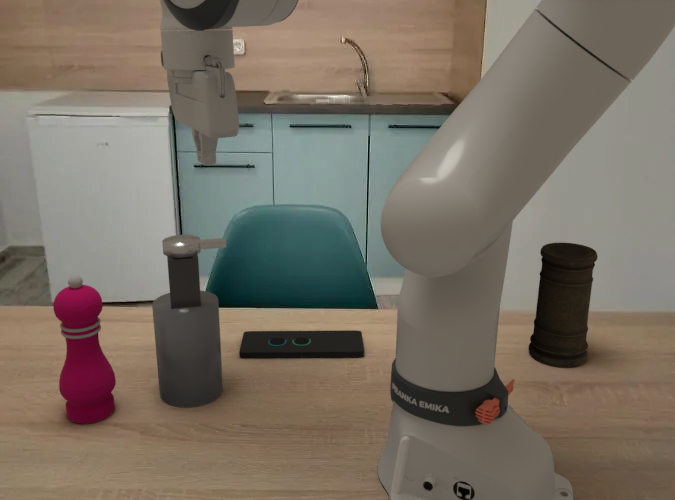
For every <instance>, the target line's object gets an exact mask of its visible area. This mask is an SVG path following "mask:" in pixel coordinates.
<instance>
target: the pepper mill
mask: <svg viewBox="0 0 675 500" xmlns="http://www.w3.org/2000/svg"><path fill="white" fill-rule="evenodd" d="M83 282H84V281H83V278H82V277H81V275H78V274H73V275H70V277H69V278H68V281H67V283H68V286H67V287H64V288H62V289H61V290H60V291H58V293H57V294H56V296H55V297H54V300H53V313H54V315H55V317H56V318H57V319H58V320H59V321H60V324H59V327H60V334H61V336H62V337H64V338H65V342H66V344H65V345H66V356H65V361H64V364H63V365H62V369H61V372H60V376H59V382H58V384H59V385H58V387H59V388H58V390H59V394H60V395H61V396H62V398H63V399H64V400H65V401H66V402H65V411H66V417H67V418H68V419H69V421H71V422H73V423H76V424H92V423H97V422H99V421H103V420H105V419H106V418H108V417H109V416H111V415H112V414H113V413H114V411H115V408H116V403H115V398H114V397H115V396H114V395H113V391H114V389H115V387H116V385H117V380H116V375H115V371H114V369H113V367H112V365H111V363H110V361H109V359H107V357H106V356H105V354H104V352H103V349H102V348H101V344H100V339H99V332H100V331H101V330H102V326H101V319H100V317H99V315H100V314H101V313H102V310H103V306H104V305H103V299H102V296H101V294H100V293H99V291H98V290H97V289H95V287H92V286H91V285H88V284H84V283H83Z"/></svg>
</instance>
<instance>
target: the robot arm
mask: <svg viewBox="0 0 675 500" xmlns="http://www.w3.org/2000/svg"><path fill="white" fill-rule="evenodd" d="M159 2H160V6H161V21H160V38H161V39H160V40H161V51H160V64H161V67H162V68H163V69H164V70H166V80H167V85H168V86H167V87H168V92H169V94H168V95H169V100H170V104H171V109H172V114H173V116H174V119H175V120H176V121H177V122H179V123H181V124H182V125H185V126H187V127H188V128H191V135H192V139H193V142H194V145H195V146H194V147H195V149H196V158H197V161H198V162H199V163H200V164H202V165H204V166H206V167H207V166H215V165H216V164H217V155H216V152H217V148H218V147H217V146H218V143H219V142H218V141H219V139H223V138H234V137H237V136H238V134H239V130H240V118H239V109H238V100H237V93H236V91H237V90H236V85H235V81H234V78H233V75H232V74H231V72H228V71H226V70H229V69H234V68H235V67H236V65H235V49H234V47H235V46H234V34H233V33H234V31H233V27H234V28H237V27H238V28H239V27H240V28H242V27H244V28H246V27H264V26H271V25H273V24H277V23H281V22H283V21H284V20H286V19H287V18H289V16H291V14H292V13H293V12H294V10H295V9H296V7H297V5H298V3H299V0H159ZM674 28H675V0H540V2H539V3H538V4H537V6H536V8H534V9H533V11H532V12H531V13H530V14H529V16H528V17H527V19H525V21H524V23H523V24H522V25H521V26H520V28H519V29H518V30H517V32H516V33H515V35H513V37H512V38H511V39H510V41H509V42H508V44H507V45H506V46H505V48H504V49H503V50H502V51H501V53H500V54H499V56H498V57H497V58H496V59H495V61H494V62H493V63H492V65H491V66H490V67H489V68H488V70H487V71H486V72H485V74H484V75H483V76H482V77H481V78H480V80H479V81H478V82H477V84H475V86H474V87H473V88H472V90H471V91H470V92H469V93H468V94H467V95H465V97H464V99H463V100H462V101H461V102H460V103H459V105H458V106H457V107H456V108H455V109H454V110H453V111H452V113H451V114H450V115H449V116H448V118H447V119H445V121H444V122H443V124H442V125H440V127H439V128H438V129H437V131H436V132H435V133H434V134H433V135H432V136H431V138H430V139H429V140H428V141H427V143H425V145H424V146H423V147H422V149H421V150H420V151H419V152H418V154H417V155H416V156H415V157H414V158H413V159H412V161H410V163H409V164H408V166H407V167H406V169H405V170H403V172H402V173H401V174H400V176H399V178H398V179H396V181H395V182H394V184H393V185H392V187H391V189H390V191H389V193H388V195H387V197H386V199H385V203H384V205H383V208H382V212H381V216H380V232H381V233H380V234H381V237H382V241H383V243H384V246H385V248H386V250H387V252H388V253H389V254H390V255H391V257H392V259H394V260H395V262H397V263H398V264H399V265H400V266H401V267H403V268H404V269H405V271H404V276H403V281H402V285H401V288H400V291H399V294H398V297H397V298H398V299H397V309H396V310H397V312H396V313H397V314H396V315H397V317H396V336H395V337H396V338H395V339H396V340H395V341H396V342H395V358H394V359H393V361H392V363H391V372H390V389H389V392H390V393H389V394H390V400H391V401H392V404H391V405H392V406H391V413H390V420H389V421H390V422H389V426H388V432H387V436H386V440H385V444H384V447H383V451H382V454H381V456H380V458H379V461H378V464H377V474H378V478H379V481H380V483H381V485H382V486H383V487H384V489H385V490H386V492H387V494H388V497H389V500H574V490H573V487H572V484H571V482H570V481H569V479H567V478H566V477H564V476H562V475H560V474H559V473H556V472H555V471H556V469H555V460H554V455H553V451H552V449H551V446H550V444H549V443H548V441H547V440H546V439H545V438H543V437H542V436H541V435H540V434H539V433H538V432H537V431H536V430H535V429H534V428H533V427H532V426H531V425H530V424H529V423H528V422H527V421H526V420H525V419H524V418H523V417H522V416H520V415H519V413H518V412H517V411H516V410H515V409H513V407H511V405H510V404H509V395H510V394H511V393H512V392H513V391H514V388H515V386H514V383H515V379H511V380H510V381H509V382H508V383H507V384H506V385H505V384H504V383H503V382H502V380H501V378H500V376H499V373H498V371H497V369H496V367H495V366H496V365H495V364H496V363H495V362H496V352H497V343H498V341H497V340H498V333H499V332H498V331H499V317H500V309H501V303H502V302H501V301H502V296H503V295H502V294H503V289H504V283H505V278H506V277H505V276H506V270H507V264H508V258H509V251H510V244H511V237H512V229H513V222H514V220H515V219H516V218H517V216H518V215H519V214H520V213H521V212H522V210H523V209H524V208H525V207H526V206H527V204H528V203H529V202H530V201H531V199H533V198H534V196H535V195H536V194H537V192H538V191H539V190H540V189H541V188H542V186H543V185H544V184H545V183H546V182H547V180H548V179H549V178H550V177H551V175H552V174H553V173H554V172H555V171H556V169H557V168H558V167H559V166H560V164H561V163H562V162H563V161H564V160H565V159H566V157H567V156H568V155H569V153H571V151H572V150H573V149H574V148H575V147H576V145H577V144H578V143H579V142H580V141H581V140H582V139H583V138H584V137H585V135H586V134H587V133H588V132H589V131H590V130H591V128H592V127H593V126H595V124H596V123H597V121H598V120H600V118H601V117H602V116H603V115H604V114H605V113H606V111H608V109H609V108H610V107H611V106H612V105H613V104H614V103H615V101H616V100H617V99H618V98H619V97H620V96H621V94H622V93H623V92H624V91H625V90H626V89H627V88H628V87H629V85H630V84H631V83H632V82H633V81H634V80H635V78H636V77H638V75H639V74H640V73H641V71H643V69H644V68H645V67H646V66H647V64H648V63H649V62H650V61H651V59H653V57H654V55H655V54H656V53H657V51H658V50H659V49H660V47H661V46H662V45H663V44H664V42H665V41H666V40H667V38H668V37H669V36H670V34H671V32H672V31H673V29H674Z"/></svg>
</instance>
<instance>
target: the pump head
mask: <svg viewBox="0 0 675 500" xmlns="http://www.w3.org/2000/svg"><path fill="white" fill-rule="evenodd" d="M161 243H162V253H163V255H164V256H166V257H167V256H169V257H176V258H180V257H189V256H194V255H196V254H200V253H201V250H210V249H213V250H214V249H226V248H227V241H226V237H221V238H220V237H219V238H207V239H201V238H200V237H199V236H197V235H194V234H193V235H192V234H175V235H171V236H167V237H165V238H164V239H162V242H161Z"/></svg>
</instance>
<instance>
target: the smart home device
mask: <svg viewBox="0 0 675 500" xmlns="http://www.w3.org/2000/svg"><path fill="white" fill-rule="evenodd" d="M363 338H364V337H363V332H362V331H361V330H355V329H354V330H248V331H247V330H246V331H244V332H243V333H242V338H241V341H240V347H239V354H238V356H239V359H243V360H252V359H253V360H254V359H255V360H256V359H257V360H258V359H262V360H265V359H268V360H269V359H273V360H275V359H277V360H278V359H280V360H281V359H282V360H283V359H286V360H288V359H361V358H364V357H365V346H364V339H363Z"/></svg>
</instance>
